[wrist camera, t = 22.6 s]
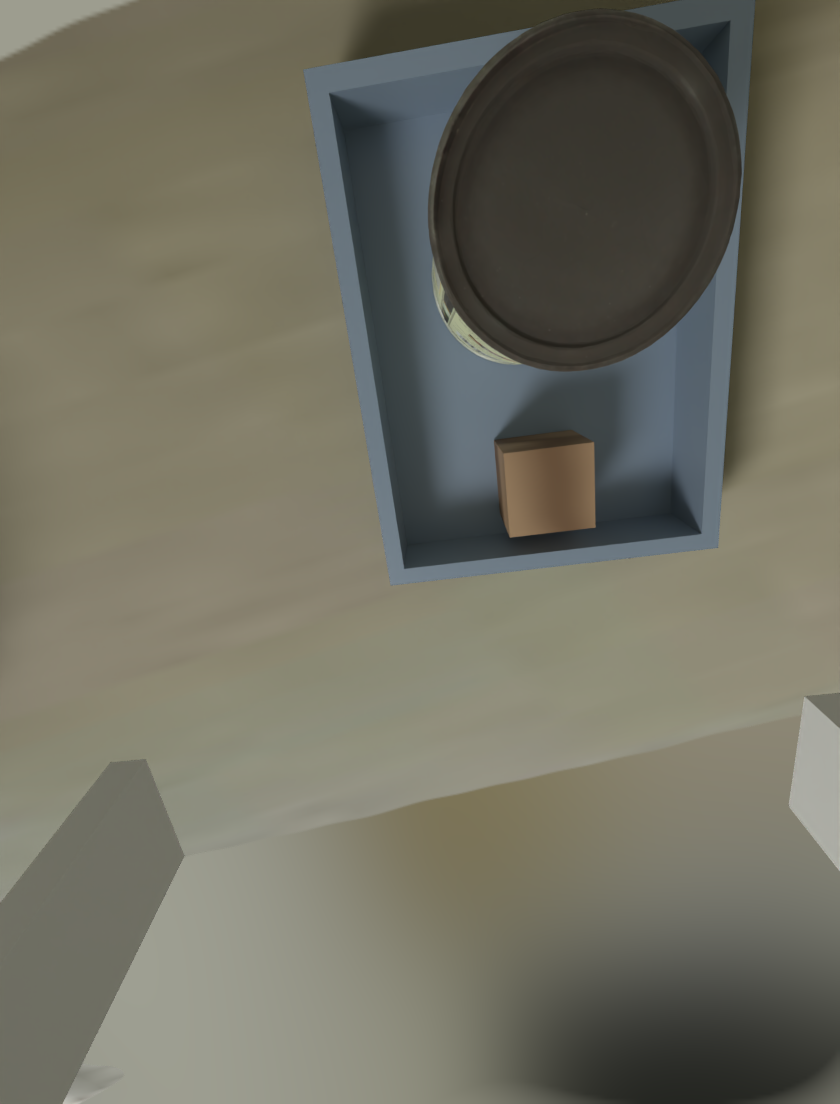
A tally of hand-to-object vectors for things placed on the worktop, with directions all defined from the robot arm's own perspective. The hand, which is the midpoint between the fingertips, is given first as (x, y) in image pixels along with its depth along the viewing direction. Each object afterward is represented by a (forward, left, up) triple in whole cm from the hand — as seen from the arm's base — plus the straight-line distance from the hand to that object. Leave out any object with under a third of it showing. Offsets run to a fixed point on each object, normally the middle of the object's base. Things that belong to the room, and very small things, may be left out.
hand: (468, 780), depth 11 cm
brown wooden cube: (+6, 0, -26) cm, 27 cm away
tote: (+6, +8, -27) cm, 29 cm away
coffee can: (+6, +12, -26) cm, 29 cm away
